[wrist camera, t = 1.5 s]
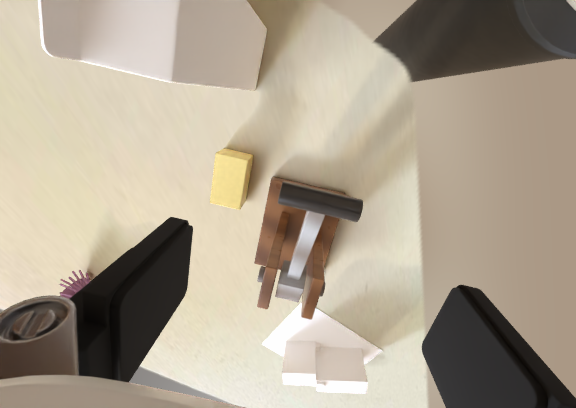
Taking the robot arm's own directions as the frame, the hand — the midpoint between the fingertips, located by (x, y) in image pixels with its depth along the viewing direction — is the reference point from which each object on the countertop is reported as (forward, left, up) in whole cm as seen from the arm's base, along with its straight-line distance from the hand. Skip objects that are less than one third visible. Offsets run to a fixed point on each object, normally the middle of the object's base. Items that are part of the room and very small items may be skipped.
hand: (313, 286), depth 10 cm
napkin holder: (+29, +8, -24) cm, 38 cm away
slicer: (+10, 0, -24) cm, 26 cm away
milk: (-8, -11, -24) cm, 27 cm away
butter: (+5, -9, -24) cm, 26 cm away
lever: (+4, 0, -12) cm, 12 cm away
